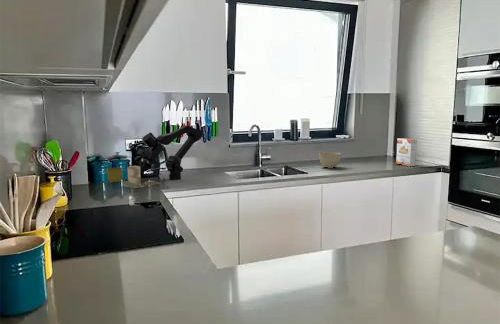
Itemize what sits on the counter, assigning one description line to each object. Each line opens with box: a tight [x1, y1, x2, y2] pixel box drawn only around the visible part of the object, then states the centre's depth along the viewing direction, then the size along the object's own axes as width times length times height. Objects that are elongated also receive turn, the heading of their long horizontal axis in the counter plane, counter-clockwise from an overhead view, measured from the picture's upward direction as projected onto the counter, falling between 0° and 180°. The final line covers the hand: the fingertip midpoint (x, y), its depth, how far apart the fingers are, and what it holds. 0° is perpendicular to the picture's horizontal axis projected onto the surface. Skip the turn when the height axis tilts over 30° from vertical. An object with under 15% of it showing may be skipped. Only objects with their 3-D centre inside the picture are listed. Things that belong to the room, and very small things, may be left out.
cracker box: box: [395, 137, 418, 167], centre depth 297 cm, size 14×6×21 cm, turn 25°
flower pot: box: [106, 167, 123, 184], centre depth 233 cm, size 9×9×9 cm
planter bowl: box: [318, 151, 342, 169], centre depth 290 cm, size 16×16×11 cm
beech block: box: [126, 165, 142, 187], centre depth 217 cm, size 5×5×11 cm
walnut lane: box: [122, 180, 162, 189], centre depth 221 cm, size 19×10×4 cm, turn 138°
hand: (138, 173), depth 218 cm, fingers closed
